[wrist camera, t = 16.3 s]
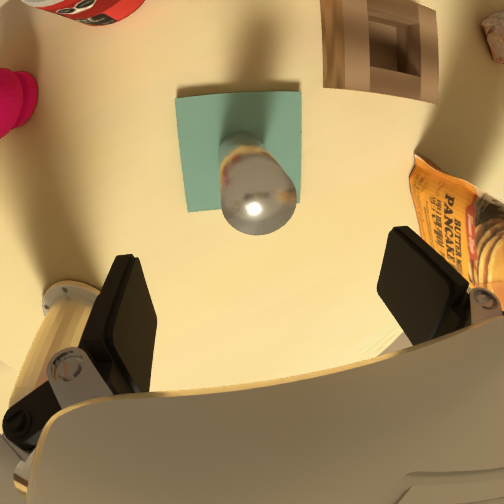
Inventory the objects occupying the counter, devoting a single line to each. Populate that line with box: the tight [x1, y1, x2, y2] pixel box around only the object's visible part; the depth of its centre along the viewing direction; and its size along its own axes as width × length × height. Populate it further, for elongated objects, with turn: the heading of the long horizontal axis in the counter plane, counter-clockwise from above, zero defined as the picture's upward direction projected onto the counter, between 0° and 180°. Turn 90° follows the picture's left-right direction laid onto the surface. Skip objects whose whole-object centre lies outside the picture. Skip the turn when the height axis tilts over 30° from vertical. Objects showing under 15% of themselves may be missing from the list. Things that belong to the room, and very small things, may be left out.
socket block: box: [320, 0, 439, 104], centre depth 19 cm, size 10×10×5 cm
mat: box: [175, 91, 301, 212], centre depth 26 cm, size 11×11×1 cm
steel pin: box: [218, 131, 297, 235], centre depth 20 cm, size 4×4×12 cm
